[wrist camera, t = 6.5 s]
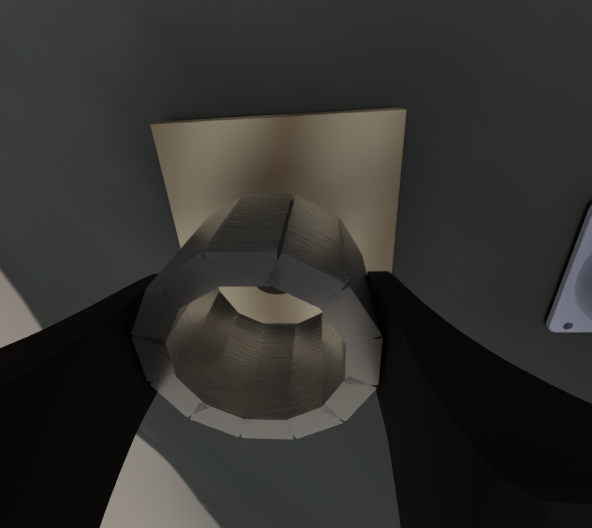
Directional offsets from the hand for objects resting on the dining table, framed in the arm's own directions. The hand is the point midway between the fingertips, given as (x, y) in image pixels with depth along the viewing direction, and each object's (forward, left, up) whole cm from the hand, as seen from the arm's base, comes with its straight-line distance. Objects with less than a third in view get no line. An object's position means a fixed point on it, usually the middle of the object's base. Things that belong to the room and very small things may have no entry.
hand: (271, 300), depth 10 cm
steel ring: (0, 0, -1) cm, 1 cm away
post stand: (0, +1, -8) cm, 8 cm away
